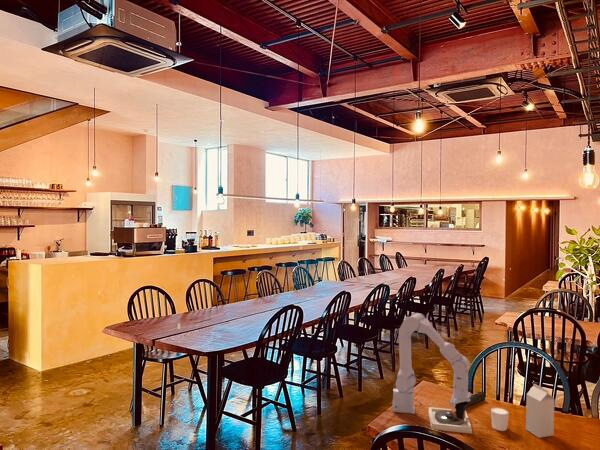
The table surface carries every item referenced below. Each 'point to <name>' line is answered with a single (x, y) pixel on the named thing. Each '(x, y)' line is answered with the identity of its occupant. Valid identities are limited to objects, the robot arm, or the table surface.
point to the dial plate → (447, 427)
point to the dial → (449, 417)
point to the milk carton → (540, 412)
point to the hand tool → (476, 398)
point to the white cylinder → (499, 418)
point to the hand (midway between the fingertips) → (460, 418)
